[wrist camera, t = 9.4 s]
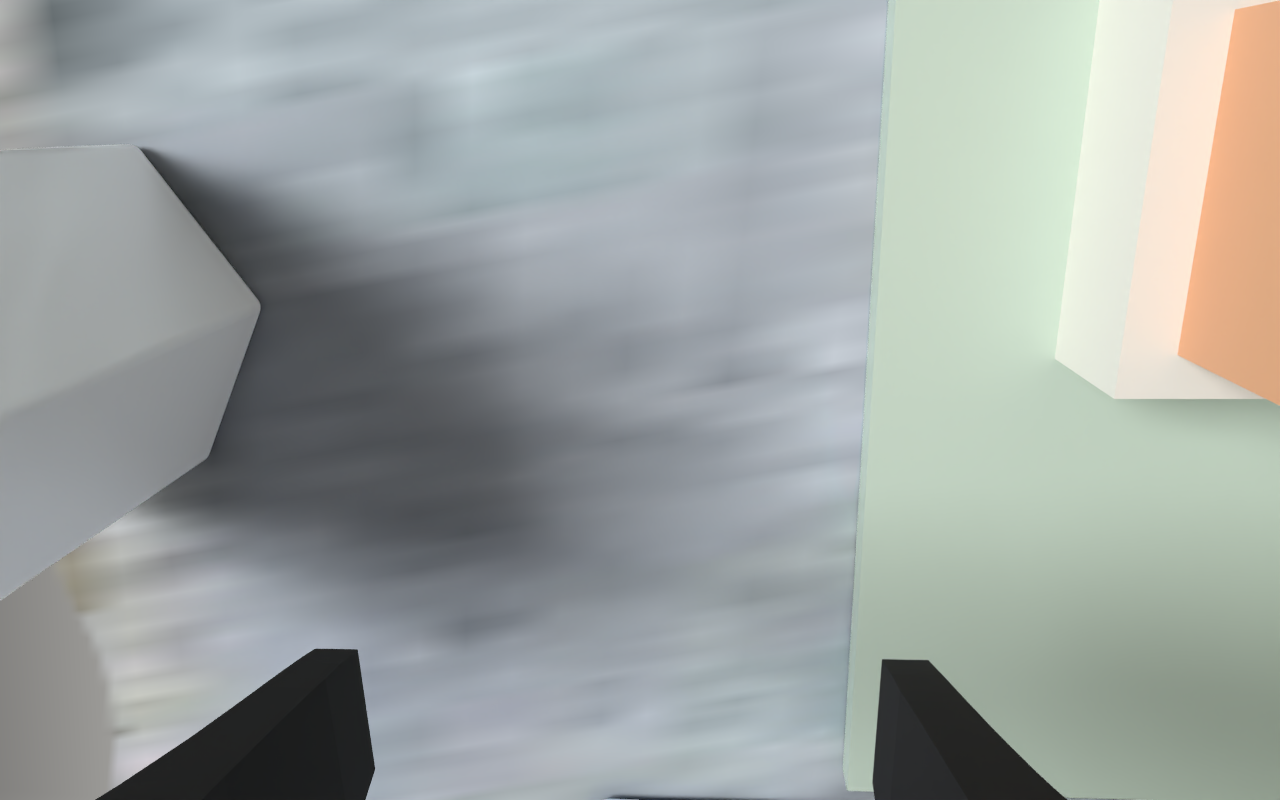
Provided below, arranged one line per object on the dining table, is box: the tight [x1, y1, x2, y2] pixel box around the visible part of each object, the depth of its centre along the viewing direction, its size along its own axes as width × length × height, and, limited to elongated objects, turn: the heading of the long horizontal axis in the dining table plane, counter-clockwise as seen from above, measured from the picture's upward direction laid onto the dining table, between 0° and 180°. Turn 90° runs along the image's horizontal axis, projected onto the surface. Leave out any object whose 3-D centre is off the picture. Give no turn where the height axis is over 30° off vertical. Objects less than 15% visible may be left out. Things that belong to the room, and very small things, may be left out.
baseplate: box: [843, 0, 1280, 800], centre depth 20 cm, size 22×16×1 cm
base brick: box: [1055, 0, 1279, 399], centre depth 17 cm, size 8×6×3 cm
